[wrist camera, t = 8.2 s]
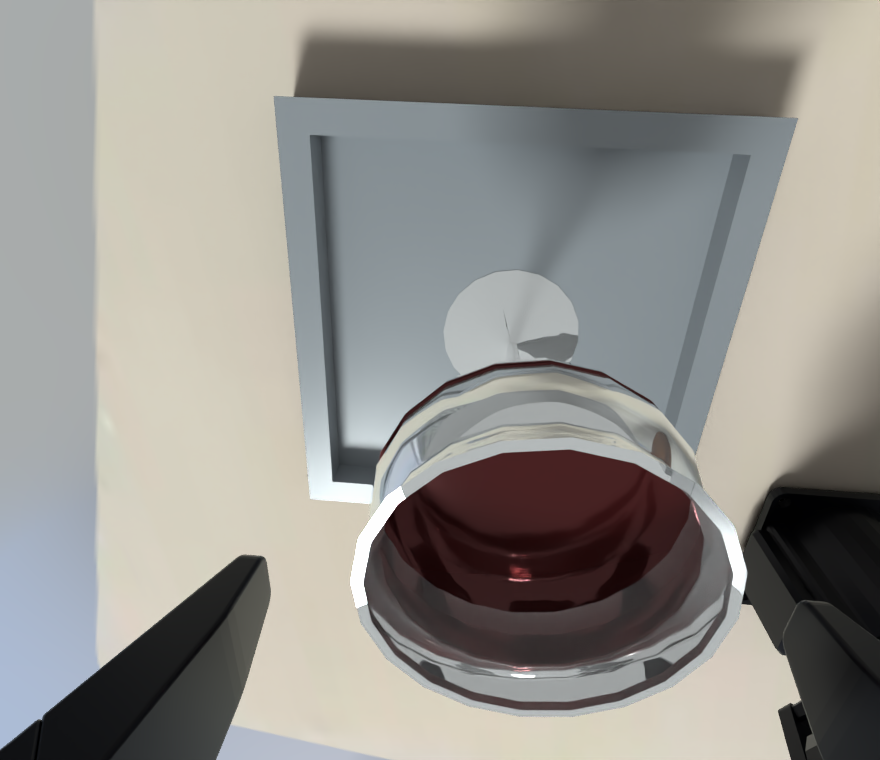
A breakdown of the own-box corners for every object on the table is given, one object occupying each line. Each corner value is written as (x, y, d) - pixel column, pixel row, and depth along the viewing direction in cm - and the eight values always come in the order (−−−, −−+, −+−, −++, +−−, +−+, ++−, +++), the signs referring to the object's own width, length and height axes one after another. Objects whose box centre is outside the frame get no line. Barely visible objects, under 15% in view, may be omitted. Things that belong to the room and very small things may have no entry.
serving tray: (768, 117, 17) (798, 118, 15) (660, 499, 23) (672, 527, 22) (293, 97, 17) (273, 96, 16) (321, 473, 24) (310, 499, 23)
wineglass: (553, 437, 22) (619, 755, 11) (395, 379, 21) (305, 658, 10) (639, 286, 19) (846, 524, 8) (459, 213, 18) (424, 367, 7)
